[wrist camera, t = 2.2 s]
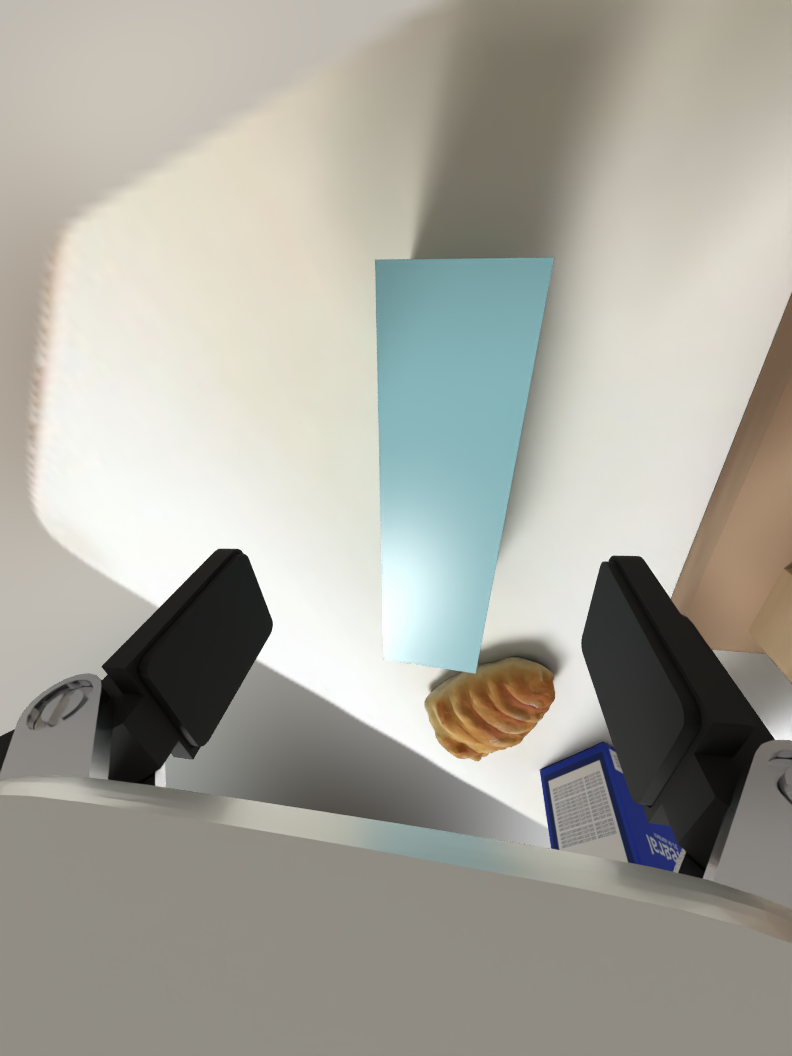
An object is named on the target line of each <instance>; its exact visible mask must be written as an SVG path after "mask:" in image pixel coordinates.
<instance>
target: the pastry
mask: <svg viewBox="0 0 792 1056" xmlns="http://www.w3.org/2000/svg"><path fill="white" fill-rule="evenodd" d="M553 678H554V677H553V674H552V672H551V671H550V670H548V669H547V668H546V667H544V666H542V665H541V664H538V663H536V662H533V661H530V660H526V659H523V658H519V657H507V658H504V659H502V660H500V661H497V662H492V663H486V664H482V665H477V669H476V674H475V673H468V672H460V673H458V674H457V675H455V676H453V677H451V678H449V679H447V680H446V681H444V682H443V683H441V684H440V685H438V686H437V687H436V688H435V689H434V690H433V691H431V693H430V694H429V695H428V697H427V698H426V700H425V709H426V711H427V713H428V716H429V721H430V723H431V725H432V727H433V728H434V730H435V735H436V738H437V740H438V742H439V743H440V744H441V745H442V746H443V747H444V748H445V749H446V750H447V751H448V752H450V753H451V754H452V755H454V756H455V757H457V758H460V759H467V758H470V759H473V760H474V761H479V760H480V759H481V758H482V757H485V756H487V755H488V754H489V753H493V752H495V751H498V750H504V749H506V748H507V747H513V746H515V745H517V744H519V743H520V742H521V741H522V740H523V738H524V737H525V736H526V735H527V734H528V733H529V732H530V731H531V730H532V729H533V728H534V727H535V725H536V724H537V722H538V721H539V720H540V719H542V718H543V716H544V714H545V713H546V712H547V711H548V710H549V707H550V705H551V704H552V702H553V701H554V699H555V690H554V685H553Z"/></svg>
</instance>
